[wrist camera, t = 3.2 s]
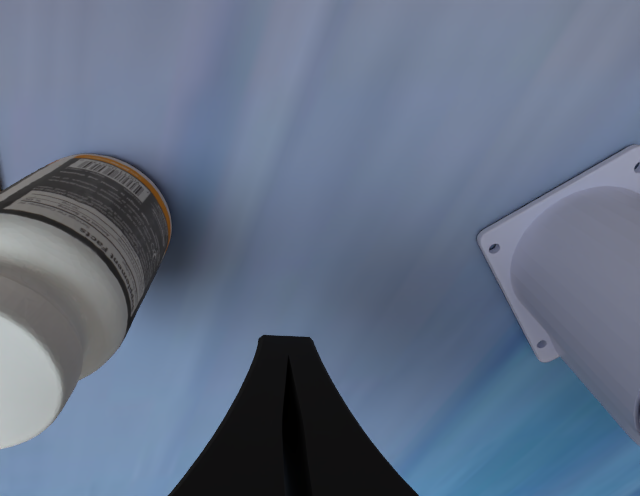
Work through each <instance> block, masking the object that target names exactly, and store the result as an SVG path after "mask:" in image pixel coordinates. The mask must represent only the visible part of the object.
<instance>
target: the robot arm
mask: <svg viewBox="0 0 640 496" xmlns="http://www.w3.org/2000/svg"><path fill="white" fill-rule="evenodd" d="M638 162H639V166H638V167H637V168H636V169H635V170H634V167H635V165H636V164H637V163H638ZM477 242H478V245H479V247H480V249H481V251H482V252H483V254H484V256H485V258H486V260H487V262H488V264H489V266H490V268H491V270H492V272H493V274H494V276H495V278H496V280H497V282H498V284H499V286H500V287H501V289H502V291H503V293H504V295H505V297H506V299H507V301H508V303H509V305H510V307H511V309H512V311H513V313H514V315H515V317H516V319H517V321H518V322H519V324H520V326H521V328H522V330H523V332H524V334H525V336H526V338H527V340H528V342H529V344H530V346H531V348H532V350H533V352H534V354H535V356H536V357H537V358H538V360H539V361H540V362H549V361H552V360H554V359H556V358H558V357H561V358H562V359H563V361H564V362H565V363H566V364H567V365H568V366H569V367H570V369H571V370H572V371H573V372H574V373H575V374H576V376H577V377H578V378H579V379H580V380H581V381H582V383H583V384H584V385H585V386H586V387H587V388H588V389H589V391H590V392H591V393H592V394H593V395H594V396H595V398H596V399H597V400H598V401H599V402H600V403H601V405H602V406H603V407H604V408H605V409H606V410H607V412H608V413H609V414H610V415H611V416H612V417H613V418H614V420H615V421H616V422H617V423H618V424H619V425H620V427H621V428H622V429H623V430H624V431H625V432H626V434H627V435H628V436H629V437H630V438H631V439H632V440H633V441H634V442H636V443H637V444H638V445H639V446H640V145H631V146H629V147H627V148H625V149H624V150H622V151H620V152H618V153H617V154H615V155H613V156H611V157H610V158H608V159H606V160H604V161H603V162H601V163H599V164H597V165H596V166H594V167H592V168H590V169H589V170H587V171H585V172H583V173H582V174H580V175H578V176H576V177H575V178H573V179H571V180H569V181H568V182H566V183H564V184H562V185H561V186H559V187H557V188H555V189H554V190H552V191H550V192H548V193H547V194H545V195H543V196H541V197H540V198H538V199H536V200H534V201H533V202H531V203H529V204H527V205H526V206H524V207H522V208H520V209H519V210H517V211H515V212H513V213H512V214H510V215H508V216H506V217H505V218H503V219H501V220H499V221H497V222H496V223H494V224H492V225H490V226H489V227H487V228H485V229H483V230H482V231H481V232H480V233H479V235H478V236H477ZM492 244H496V246H495V248H493V249H492V250H489V248H490V246H491V245H492ZM540 341H541V342H540ZM538 342H540V343H538ZM168 496H419V495H418V494H417V493H416V492H415V491H414V490H413V489H412V488H411V487H410V486H409V485H408V484H407V483H406V482H405V481H404V480H403V479H402V477H401V476H400V475H399V474H398V473H397V472H396V471H395V469H394V468H393V467H392V466H391V465H390V464H389V462H388V461H387V460H386V459H385V458H384V457H383V455H382V454H381V453H380V452H379V450H378V449H377V448H376V446H375V445H374V444H373V443H372V441H371V440H370V439H369V437H368V436H367V435H366V433H365V432H364V431H363V429H362V428H361V426H360V425H359V423H358V422H357V421H356V419H355V418H354V416H353V415H352V413H351V412H350V410H349V409H348V407H347V405H346V404H345V402H344V401H343V399H342V397H341V396H340V394H339V392H338V390H337V389H336V387H335V385H334V384H333V382H332V380H331V378H330V376H329V375H328V373H327V371H326V369H325V367H324V365H323V363H322V361H321V359H320V356H319V354H318V352H317V350H316V347H315V345H314V342H313V340H312V339H311V338H310V337H296V336H274V335H263V336H261V337H260V338H259V340H258V346H257V350H256V353H255V356H254V359H253V362H252V364H251V367H250V369H249V371H248V374H247V376H246V378H245V380H244V382H243V384H242V386H241V388H240V390H239V392H238V394H237V396H236V398H235V400H234V402H233V403H232V405H231V407H230V409H229V410H228V412H227V414H226V416H225V417H224V419H223V421H222V422H221V424H220V426H219V427H218V429H217V430H216V432H215V434H214V435H213V437H212V438H211V440H210V441H209V442H208V444H207V445H206V447H205V448H204V450H203V451H202V453H201V454H200V455H199V457H198V458H197V459H196V461H195V462H194V463H193V465H192V466H191V467H190V469H189V470H188V471H187V473H186V474H185V475H184V477H183V478H182V479H181V480H180V482H179V483H178V484H177V485H176V487H175V488H174V489H173V490H172V492H171V493H170V494H169V495H168Z"/></svg>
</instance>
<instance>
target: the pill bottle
mask: <svg viewBox="0 0 640 496" xmlns="http://www.w3.org/2000/svg"><path fill="white" fill-rule="evenodd" d="M171 231H172V223H171V216H170V211H169V208H168V205H167V203H166V201H165V199H164V197H163V195H162V194H161V192H160V191H159V189H158V188H157V187H156V185H155V184H154V183H153V182H152V181H151V180H150V179H149V178H148V177H147V176H146V175H144V174H143V173H142V172H140V171H139V170H137V169H136V168H134V167H133V166H131V165H129V164H127V163H126V162H123V161H121V160H119V159H115V158H113V157H109V156H104V155H97V154H77V155H72V156H68V157H64V158H62V159H59V160H57V161H54V162H52V163H50V164H48V165H46V166H45V167H43V168H40V169H38V170H37V171H35V172H34V173H31V174H30V175H28V176H26V177H25V178H23V179H21V180H19V181H18V182H16V183H14V184H13V185H11V186H9V187H8V188H6V189H4V190H3V191H1V192H0V449H3V448H7V447H12V446H15V445H18V444H21V443H23V442H26V441H28V440H30V439H32V438H33V437H35V436H37V435H39V434H40V433H41V432H43V431H44V430H45V429H46V428H47V427H48V426H50V425H51V424H52V423H53V422H54V420H55V419H56V418H57V416H58V415H59V413H60V412H61V411H62V409H63V407H64V406H65V404H66V402H67V401H68V399H69V397H70V395H71V394H72V392H73V390H74V388H75V387H76V385H77V382H78V380H81V379H83V378H85V377H87V376H88V375H90V374H92V373H93V372H95V371H96V370H98V369H99V368H100V367H101V366H102V365H104V364H105V363H106V362H107V361H108V360H109V359H110V358H111V357H112V355H113V354H114V353H115V352H116V351H117V349H118V348H119V347H120V345H121V344H122V342H123V340H124V338H125V337H126V334H127V332H128V330H129V328H130V326H131V324H132V322H133V319H134V317H135V315H136V313H137V311H138V309H139V307H140V305H141V303H142V301H143V299H144V297H145V295H146V293H147V291H148V289H149V287H150V284H151V282H152V281H153V279H154V277H155V274H156V272H157V270H158V268H159V266H160V264H161V262H162V260H163V258H164V255H165V253H166V250H167V248H168V245H169V242H170V238H171Z"/></svg>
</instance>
